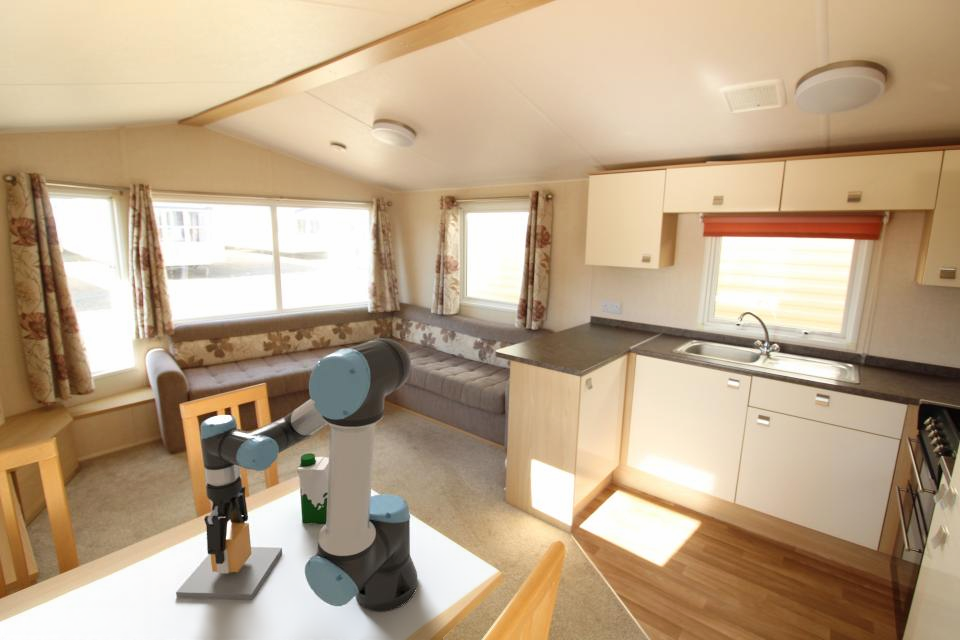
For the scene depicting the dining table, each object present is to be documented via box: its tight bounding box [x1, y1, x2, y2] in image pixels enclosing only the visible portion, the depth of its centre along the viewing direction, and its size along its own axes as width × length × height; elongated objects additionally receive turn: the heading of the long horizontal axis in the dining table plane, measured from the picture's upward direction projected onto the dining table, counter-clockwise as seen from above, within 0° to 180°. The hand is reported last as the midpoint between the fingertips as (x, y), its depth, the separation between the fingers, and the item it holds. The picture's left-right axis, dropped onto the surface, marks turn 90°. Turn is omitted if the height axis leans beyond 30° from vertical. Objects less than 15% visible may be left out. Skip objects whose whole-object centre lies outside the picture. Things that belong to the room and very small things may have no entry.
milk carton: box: [297, 452, 329, 525], centre depth 136 cm, size 9×9×20 cm
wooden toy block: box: [210, 522, 252, 572], centre depth 113 cm, size 6×6×9 cm
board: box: [175, 546, 283, 601], centre depth 113 cm, size 18×16×8 cm
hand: (231, 561), depth 113 cm, fingers closed on wooden toy block, 6 cm apart
